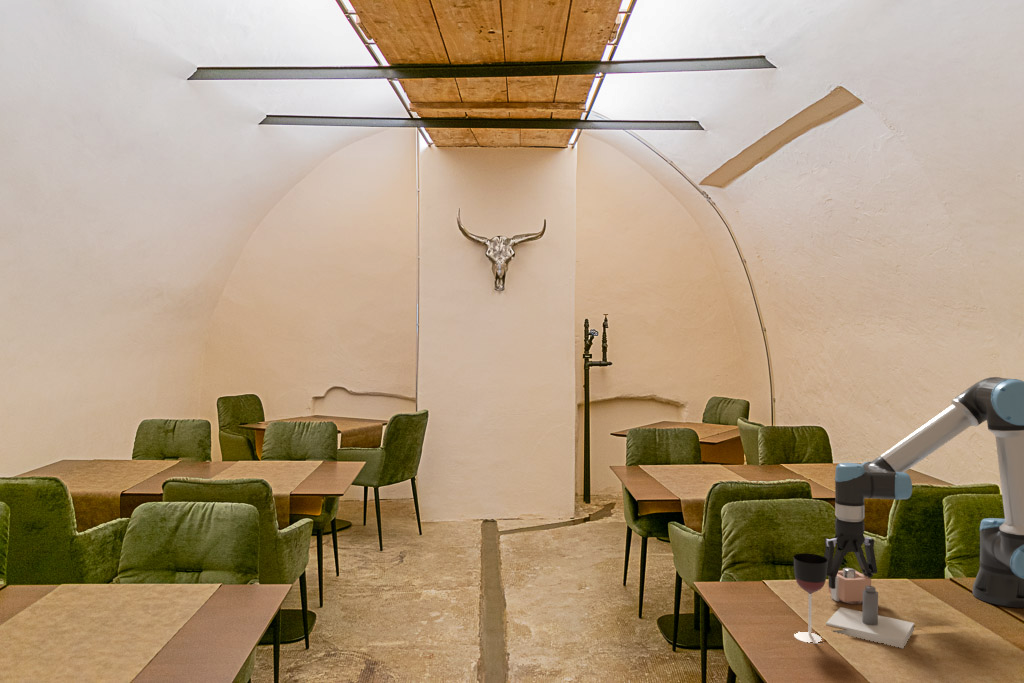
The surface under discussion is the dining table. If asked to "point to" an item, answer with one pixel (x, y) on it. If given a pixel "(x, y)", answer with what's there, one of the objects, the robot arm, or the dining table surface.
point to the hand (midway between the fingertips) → (849, 598)
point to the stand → (849, 574)
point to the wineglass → (810, 585)
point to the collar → (852, 586)
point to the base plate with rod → (871, 622)
